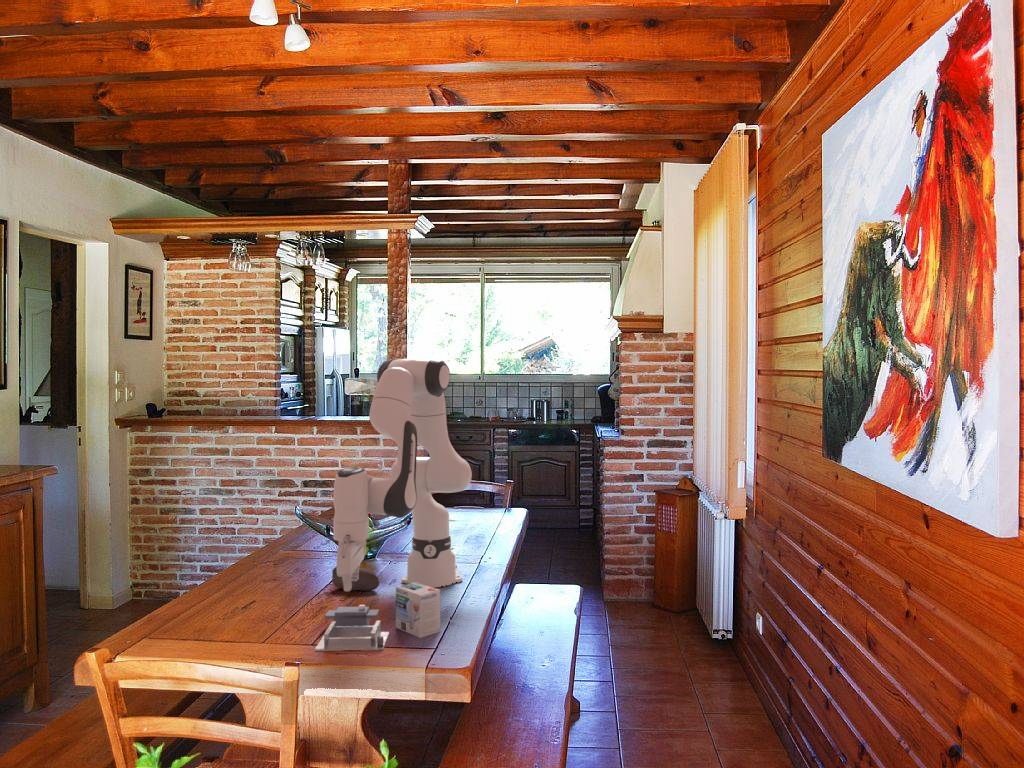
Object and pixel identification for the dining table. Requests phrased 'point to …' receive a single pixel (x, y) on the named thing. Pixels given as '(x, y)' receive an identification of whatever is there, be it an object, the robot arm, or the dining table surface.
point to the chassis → (353, 638)
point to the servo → (352, 615)
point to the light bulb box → (418, 609)
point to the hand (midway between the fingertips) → (351, 585)
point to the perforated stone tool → (364, 582)
